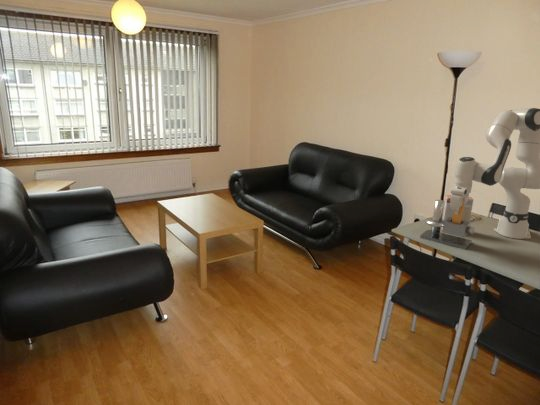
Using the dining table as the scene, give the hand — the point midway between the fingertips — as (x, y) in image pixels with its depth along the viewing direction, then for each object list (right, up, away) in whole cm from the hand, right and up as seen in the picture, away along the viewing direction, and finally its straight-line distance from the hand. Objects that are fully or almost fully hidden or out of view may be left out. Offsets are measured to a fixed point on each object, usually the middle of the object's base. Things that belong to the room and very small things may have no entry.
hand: (457, 213), depth 211 cm
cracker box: (+8, -11, +22) cm, 26 cm away
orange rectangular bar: (0, -5, +2) cm, 6 cm away
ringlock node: (-3, -15, +7) cm, 17 cm away
